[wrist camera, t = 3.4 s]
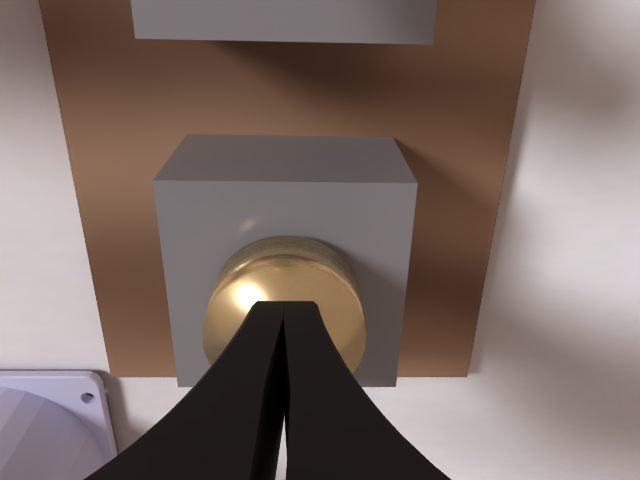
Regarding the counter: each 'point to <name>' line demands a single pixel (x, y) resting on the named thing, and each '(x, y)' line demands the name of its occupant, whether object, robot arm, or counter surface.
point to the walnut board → (297, 120)
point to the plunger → (286, 292)
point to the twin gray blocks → (287, 176)
